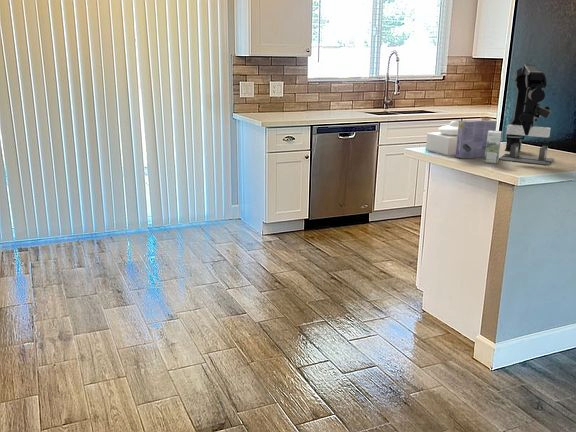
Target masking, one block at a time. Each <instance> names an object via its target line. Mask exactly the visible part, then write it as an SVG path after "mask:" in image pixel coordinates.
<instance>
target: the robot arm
mask: <svg viewBox="0 0 576 432" xmlns="http://www.w3.org/2000/svg"><path fill="white" fill-rule="evenodd" d="M513 79H514V81H513V82H514V85H515V87H516V97H515V103H514V110H513V117H512V119H510V121H509V122H508V125H522V126H523V130H524V133H525V135H528V134H529V131H530V127H531V126H534V124H535V123H536V122H537V121H538V120H539V119H540V118H541V117H543V118H545V119H548V118H549V117H550V115H551V114H552V110H551V107H550V106H548V105H547V106H545V107H543V106H541V103H540V102H542V101H543V100H544V99H545V98H546V93H545V91H544V90H543V89H545V88H546V87H547V77H546V74H545V72H544V71H539V70H537V68H536V67H535V64H533V63H531V64H527V63H525V64H522V66H521V67H520V68H518V69H517V70H516V72H515V74H514V78H513ZM506 131H507V129H506V130H505V133H504V138H505V139H506V145H505V149H504V151H506V152H510V148H511V145H513V143H518V144H519V147H518V152H520V151H521V150H522V143H523V142H522V141H521V140H525V136H523V135H512V134H506Z"/></svg>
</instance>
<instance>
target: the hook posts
mask: <svg viewBox="0 0 576 432" xmlns="http://www.w3.org/2000/svg"><path fill="white" fill-rule="evenodd" d="M518 147H519V144H518V143H513V145H511V148H510V151H509V153H504V154H502V155H501V157H509V158H519V159H528V160H538V161H547V162H551V163H552V162H553V161H554V160H555V158H552V157H547V155H548V149H549V147H548V145H547V146H546V145H542V146H541V147H539V151H538V152H539V153H538V156H532V155H522V154H518V153H519V151H518Z"/></svg>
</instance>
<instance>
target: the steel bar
mask: <svg viewBox="0 0 576 432" xmlns="http://www.w3.org/2000/svg"><path fill="white" fill-rule="evenodd" d="M506 130H507V131H506ZM506 130H505V133H506V134H512V135H523V136H524V137H525V136H526V137H535V138H536V137H537V138H538V137H539V138H550V135H551V130H552V129H551V127H546V126H534V125H533V126H531V127H530V131H529V134H528V135H525V133H524V130H523V126H522V125H509V124H507V125H506Z"/></svg>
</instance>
